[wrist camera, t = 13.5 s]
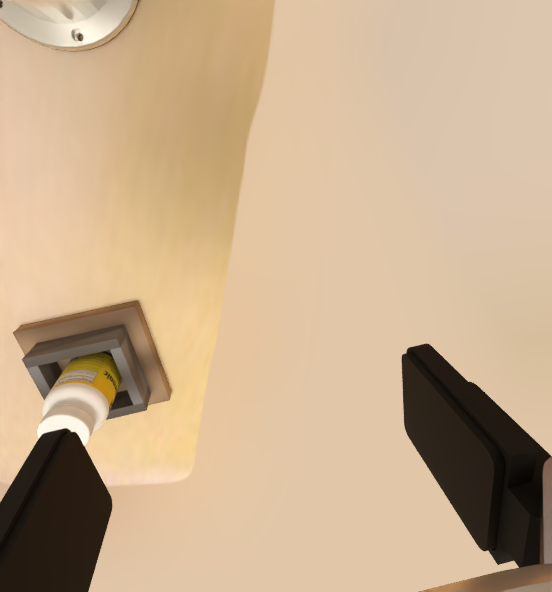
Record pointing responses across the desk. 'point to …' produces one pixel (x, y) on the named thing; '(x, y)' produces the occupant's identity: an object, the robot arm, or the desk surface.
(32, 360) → the socket stand
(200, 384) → the desk surface
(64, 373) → the supplement bottle
